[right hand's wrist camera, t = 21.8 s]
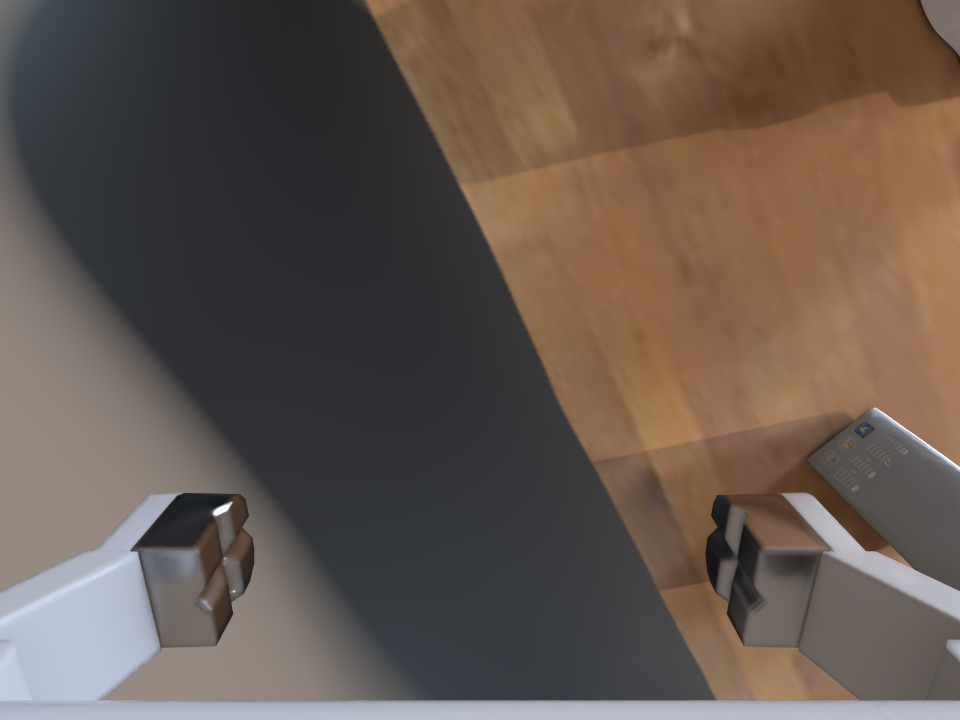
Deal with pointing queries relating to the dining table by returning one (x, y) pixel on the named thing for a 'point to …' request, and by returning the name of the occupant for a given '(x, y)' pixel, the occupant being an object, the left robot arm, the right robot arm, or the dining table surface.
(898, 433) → the hard drive box
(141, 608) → the right robot arm
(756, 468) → the dining table surface
